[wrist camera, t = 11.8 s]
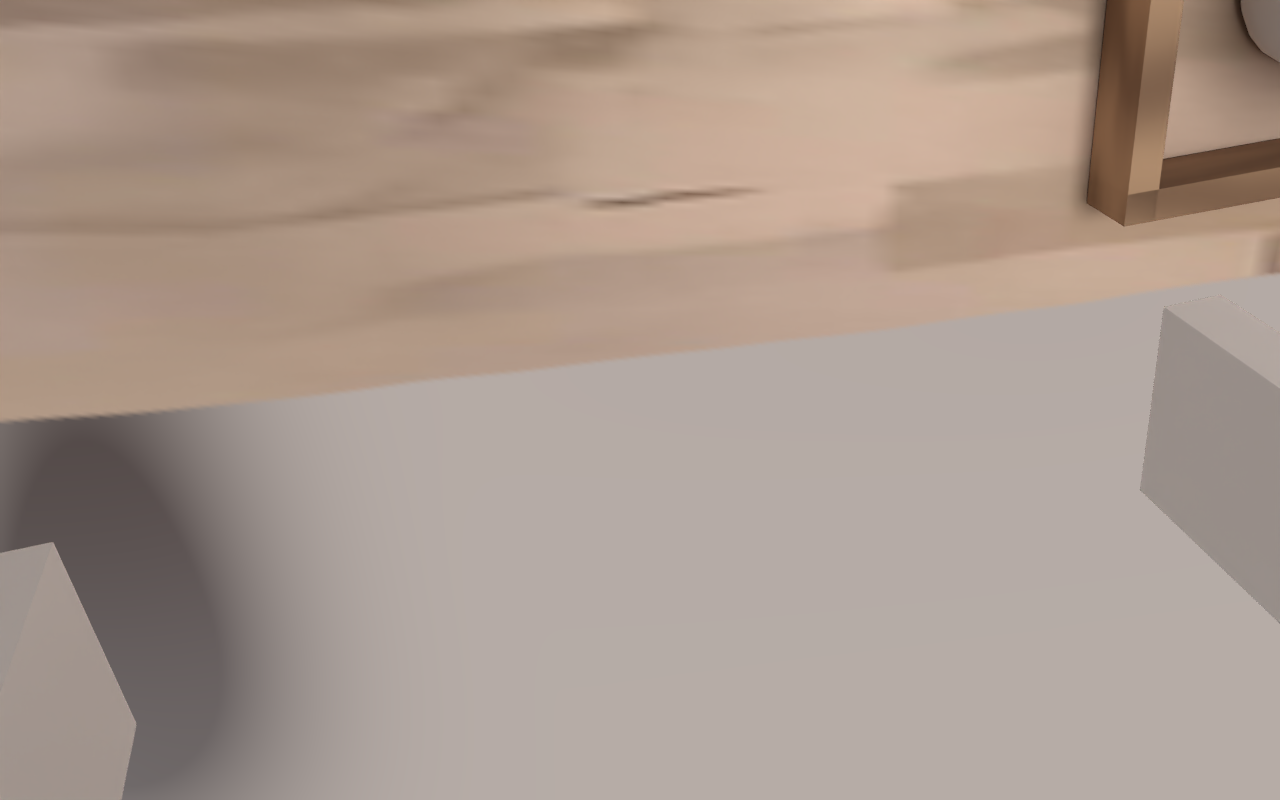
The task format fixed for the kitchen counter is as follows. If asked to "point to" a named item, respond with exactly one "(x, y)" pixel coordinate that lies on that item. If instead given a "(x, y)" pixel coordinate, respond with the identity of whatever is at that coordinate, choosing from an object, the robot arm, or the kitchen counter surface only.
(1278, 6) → the cup
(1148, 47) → the bay
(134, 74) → the kitchen counter surface
